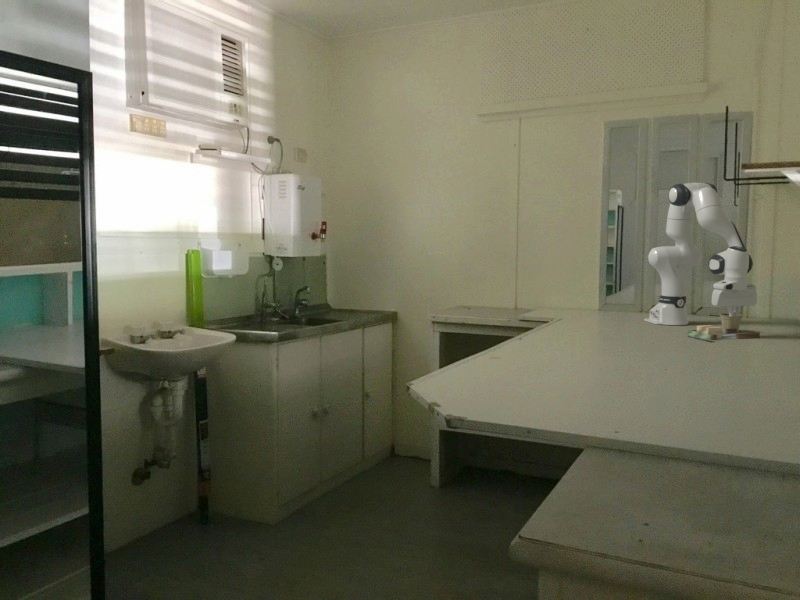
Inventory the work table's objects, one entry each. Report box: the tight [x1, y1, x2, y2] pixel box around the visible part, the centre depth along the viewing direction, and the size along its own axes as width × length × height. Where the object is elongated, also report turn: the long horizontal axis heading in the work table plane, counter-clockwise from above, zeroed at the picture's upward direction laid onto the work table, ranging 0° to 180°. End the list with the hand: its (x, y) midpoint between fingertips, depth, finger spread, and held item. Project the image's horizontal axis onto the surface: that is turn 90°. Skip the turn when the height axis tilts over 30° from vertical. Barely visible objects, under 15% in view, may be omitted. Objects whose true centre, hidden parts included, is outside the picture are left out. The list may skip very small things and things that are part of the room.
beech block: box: [696, 324, 724, 338], centre depth 265 cm, size 7×7×4 cm
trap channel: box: [687, 328, 761, 343], centre depth 267 cm, size 14×24×3 cm, turn 103°
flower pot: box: [719, 312, 744, 333], centre depth 280 cm, size 9×9×9 cm
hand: (733, 316), depth 268 cm, fingers closed
